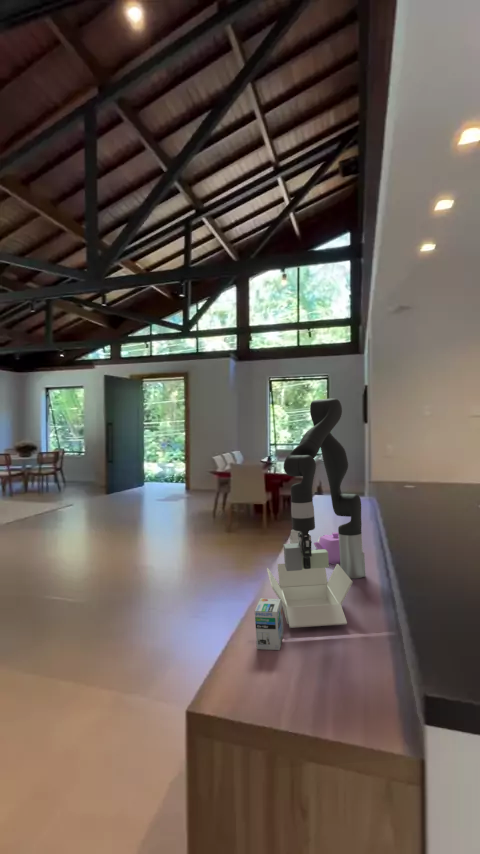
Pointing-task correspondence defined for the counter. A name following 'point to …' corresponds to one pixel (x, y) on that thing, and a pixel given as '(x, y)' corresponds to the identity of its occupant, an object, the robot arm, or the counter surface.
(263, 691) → the counter surface
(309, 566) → the robot arm
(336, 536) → the teakettle
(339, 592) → the carton
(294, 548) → the box
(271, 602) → the light bulb box
